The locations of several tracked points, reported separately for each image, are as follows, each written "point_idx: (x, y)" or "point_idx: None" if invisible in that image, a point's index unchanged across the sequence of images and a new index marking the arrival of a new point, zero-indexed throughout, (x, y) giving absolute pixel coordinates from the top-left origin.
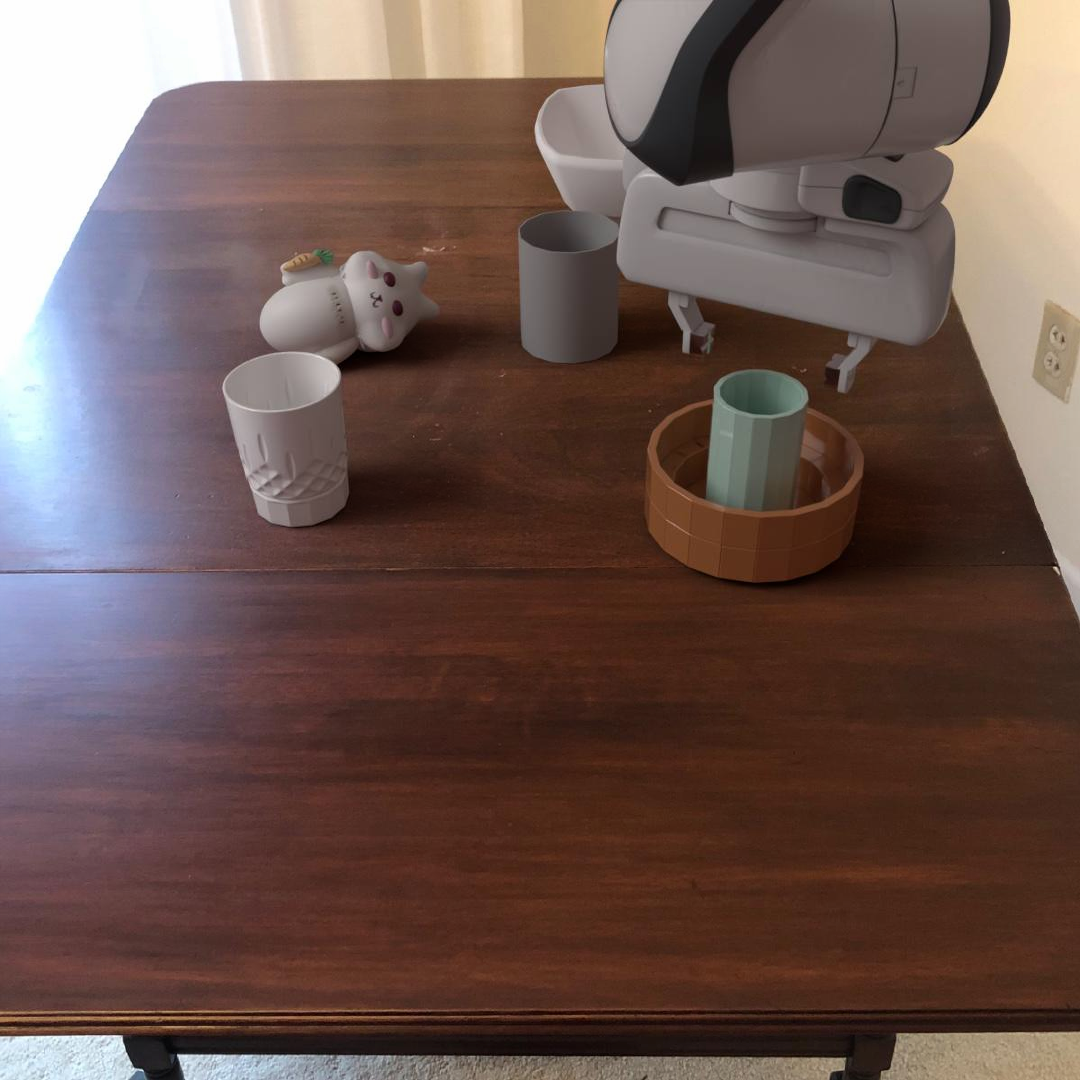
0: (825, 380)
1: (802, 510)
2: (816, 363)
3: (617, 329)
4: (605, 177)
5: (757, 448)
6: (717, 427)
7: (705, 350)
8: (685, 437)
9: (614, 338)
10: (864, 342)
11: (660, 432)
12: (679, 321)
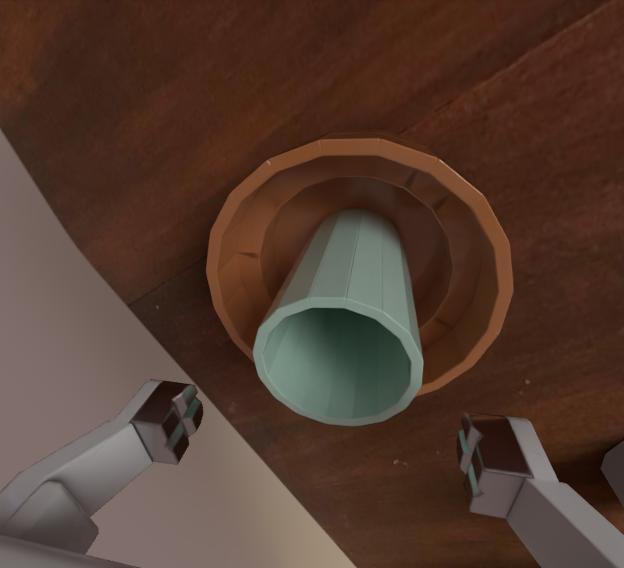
0: (175, 396)
1: (229, 206)
2: (389, 471)
3: (610, 484)
4: None
5: (309, 269)
6: (389, 287)
7: (467, 432)
8: (462, 322)
9: (608, 472)
10: (8, 499)
11: (499, 291)
12: (593, 516)
